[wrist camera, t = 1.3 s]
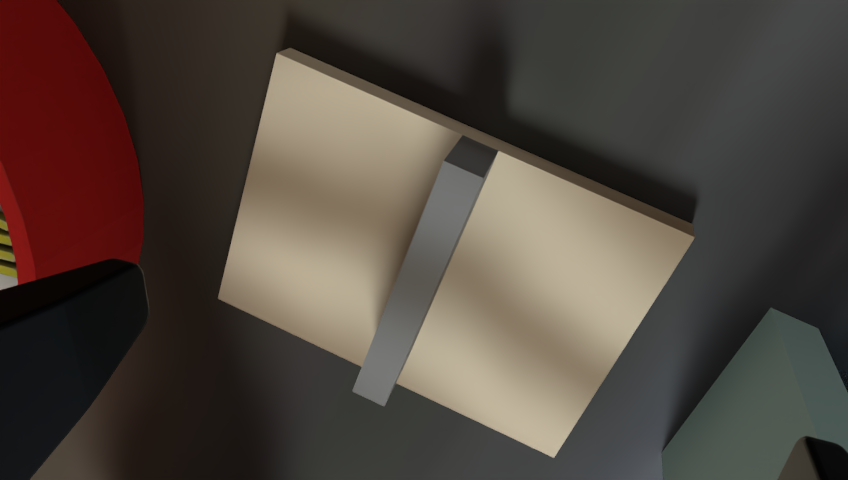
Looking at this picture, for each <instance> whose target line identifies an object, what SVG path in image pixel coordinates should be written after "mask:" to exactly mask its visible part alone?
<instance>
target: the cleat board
mask: <svg viewBox="0 0 848 480" xmlns="http://www.w3.org/2000/svg"><path fill="white" fill-rule="evenodd" d="M694 238H695V235H694V230H693V225H692V224H691V223H689V222H686V221H684V220H682V219H679V218H677V217H675V216H673V215H670V214H668V213H666V212H664V211H661V210H659V209H657V208H654V207H652V206H650V205H648V204H645V203H643V202H641V201H638V200H636V199H634V198H632V197H629V196H627V195H625V194H623V193H620V192H618V191H616V190H613V189H611V188H609V187H607V186H604V185H602V184H600V183H597V182H595V181H593V180H591V179H588V178H586V177H584V176H582V175H579V174H577V173H575V172H572V171H570V170H568V169H566V168H563V167H561V166H559V165H556V164H554V163H552V162H550V161H547V160H545V159H543V158H541V157H538V156H536V155H534V154H531V153H529V152H527V151H525V150H522V149H520V148H518V147H515V146H513V145H511V144H509V143H506V142H504V141H502V140H500V139H497V138H495V137H493V136H490V135H488V134H486V133H484V132H481V131H479V130H477V129H474V128H472V127H470V126H468V125H465V124H463V123H461V122H459V121H456V120H454V119H452V118H449V117H447V116H445V115H443V114H440V113H438V112H436V111H433V110H431V109H429V108H427V107H424V106H422V105H420V104H418V103H415V102H413V101H411V100H408V99H406V98H404V97H402V96H399V95H397V94H395V93H392V92H390V91H388V90H386V89H383V88H381V87H379V86H377V85H374V84H372V83H370V82H367V81H365V80H363V79H361V78H358V77H356V76H354V75H351V74H349V73H347V72H345V71H342V70H340V69H338V68H336V67H333V66H331V65H329V64H326V63H324V62H322V61H320V60H317V59H315V58H313V57H311V56H308V55H306V54H304V53H301V52H299V51H297V50H295V49H292V48H288V49H286V50H283V51H280V52H278V53H276V58H275V62H274V66H273V70H272V74H271V78H270V83H269V87H268V91H267V95H266V99H265V103H264V108H263V112H262V116H261V120H260V124H259V129H258V133H257V137H256V141H255V145H254V149H253V154H252V158H251V162H250V166H249V170H248V175H247V179H246V183H245V187H244V191H243V195H242V200H241V204H240V208H239V212H238V216H237V220H236V225H235V229H234V233H233V237H232V241H231V246H230V250H229V254H228V258H227V262H226V266H225V271H224V275H223V279H222V283H221V287H220V291H219V296H218V299H220V300H222V301H224V302H226V303H228V304H230V305H232V306H235V307H237V308H239V309H241V310H243V311H245V312H247V313H249V314H251V315H254V316H256V317H258V318H260V319H262V320H264V321H266V322H268V323H270V324H273V325H275V326H277V327H279V328H281V329H283V330H285V331H287V332H289V333H292V334H294V335H296V336H298V337H300V338H302V339H304V340H306V341H308V342H311V343H313V344H315V345H317V346H319V347H321V348H323V349H325V350H327V351H330V352H332V353H334V354H336V355H338V356H340V357H342V358H344V359H346V360H349V361H351V362H353V363H355V364H357V365H359V366H361V367H362V368H361V370H360V373H359V376H358V378H357V381H356V383H355V386H354V388H353V392H355V393H357V394H359V395H361V396H363V397H365V398H367V399H369V400H371V401H374V402H376V403H378V404H380V405H382V406H385V404H386V402H387V400H388V398H389V396H390V394H391V392H392V390H393V388H394V386H395V384H396V383H397V384H399V385H401V386H403V387H406V388H408V389H410V390H412V391H414V392H416V393H418V394H420V395H422V396H425V397H427V398H429V399H431V400H433V401H435V402H437V403H439V404H441V405H444V406H446V407H448V408H450V409H452V410H454V411H456V412H458V413H460V414H463V415H465V416H467V417H469V418H471V419H473V420H475V421H477V422H479V423H482V424H484V425H486V426H488V427H490V428H492V429H494V430H496V431H498V432H501V433H503V434H505V435H507V436H509V437H511V438H513V439H515V440H517V441H520V442H522V443H524V444H526V445H528V446H530V447H532V448H534V449H536V450H539V451H541V452H543V453H545V454H547V455H549V456H551V457H553V458H554V457H555V455H556V454H557V452H558V451H559V449H560V448H561V446H562V444H563V443H564V441H565V440H566V438H567V437H568V435H569V433H570V432H571V430H572V429H573V427H574V426H575V424H576V423H577V421H578V419H579V418H580V416H581V415H582V413H583V412H584V410H585V408H586V407H587V405H588V404H589V402H590V401H591V399H592V398H593V396H594V394H595V393H596V391H597V390H598V388H599V387H600V385H601V383H602V382H603V380H604V379H605V377H606V376H607V374H608V373H609V371H610V369H611V368H612V366H613V365H614V363H615V362H616V360H617V358H618V357H619V355H620V354H621V352H622V351H623V349H624V348H625V346H626V344H627V343H628V341H629V340H630V338H631V337H632V335H633V334H634V332H635V330H636V329H637V327H638V326H639V324H640V323H641V321H642V319H643V318H644V316H645V315H646V313H647V312H648V310H649V309H650V307H651V305H652V304H653V302H654V301H655V299H656V298H657V296H658V294H659V293H660V291H661V290H662V288H663V287H664V285H665V284H666V282H667V280H668V279H669V277H670V276H671V274H672V273H673V271H674V269H675V268H676V266H677V265H678V263H679V262H680V260H681V259H682V257H683V255H684V254H685V252H686V251H687V249H688V248H689V246H690V244H691V243H692V241H693V240H694Z"/></svg>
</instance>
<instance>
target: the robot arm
mask: <svg viewBox="0 0 848 480" xmlns="http://www.w3.org/2000/svg"><path fill="white" fill-rule="evenodd" d="M148 317H149V303H148V297H147V291H146V285H145V278H144V273H143V270H142V269H141V267H140V266H139V265H138V264H136V263H133V262H129V261H125V260H121V259H116V258H111V259H107V260H103V261H100V262H96V263H93V264H89V265H86V266H82V267H79V268H75V269H72V270H68V271H65V272H61V273H58V274H54V275H51V276H48V277H44V278H41V279H37V280H34V281H30V282H27V283H23V284H20V285H16V286H13V287H9V288H6V289H2V290H0V480H30V478H31V477H32V476H33V475H34V474H35V472H36V471H37V470H38V469H39V468H40V466H41V465H42V464H43V463H44V462H45V460H46V459H47V458H48V457H49V456H50V454H51V453H52V452H53V451H54V450H55V448H56V447H57V446H58V445H59V444H60V442H61V441H62V440H63V439H64V438H65V436H66V435H67V434H68V433H69V432H70V430H71V429H72V428H73V427H74V426H75V424H76V423H77V422H78V421H79V420H80V418H81V417H82V416H83V415H84V413H85V412H86V411H87V410H88V408H89V407H90V406H91V404H92V403H93V401H94V400H95V399H96V397H97V396H98V394H99V393H100V392H101V390H102V389H103V387H104V386H105V384H106V383H107V381H108V380H109V378H110V377H111V375H112V374H113V372H114V371H115V369H116V368H117V366H118V365H119V363H120V362H121V361H122V359H123V358H124V356H125V355H126V353H127V352H128V350H129V349H130V347H131V346H132V344H133V343H134V341H135V340H136V338H137V337H138V335H139V334H140V333H141V331H142V330H143V328H144V326H145V325H146V323H147V320H148ZM777 480H848V452H847V451H846V450H845V449H844V448H843V447H842V446H840V445H839V444H836V443H833V442H829V441H825V440H822V439H818V438H814V437H810V436H804V437H801V438H800V439H799V440H798V441H797V442H796V443H795V445H794V447H793V449H792V451H791V453H790V455H789V457H788V459H787V461H786V463H785V465H784V467H783V469H782V471H781V473H780V475H779V477H778V479H777Z"/></svg>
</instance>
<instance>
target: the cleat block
mask: <svg viewBox="0 0 848 480" xmlns="http://www.w3.org/2000/svg"><path fill="white" fill-rule="evenodd" d="M804 436H810V437H814V438H818V439H822V440H825V441H829V442H833V443H836V444H839V445H840V446H842V447H843V448H844V449H845V450H846V451H847V452H848V392H847V390H846V388H845V386H844V383H843V381H842V379H841V377H840V375H839V373H838V370H837V368H836V366H835V364H834V362H833V359H832V357H831V355H830V353H829V351H828V348H827V346H826V344H825V342H824V340H823V338H822V335H821V333H820V331H819V329H818V328H816V327H814V326H811V325H809V324H807V323H805V322H802V321H800V320H798V319H796V318H793V317H791V316H789V315H787V314H784V313H782V312H780V311H778V310H775V309H773V308H770V309H769V310H768V312H767V313H766V314H765V316H764V317H763V318H762V320H761V321H760V322H759V324H758V325H757V326H756V328H755V329H754V330H753V332H752V333H751V334H750V336H749V337H748V338H747V340H746V341H745V342H744V344H743V345H742V346H741V348H740V349H739V350H738V352H737V353H736V354H735V356H734V357H733V358H732V360H731V361H730V362H729V364H728V365H727V366H726V368H725V369H724V370H723V372H722V373H721V374H720V376H719V377H718V378H717V380H716V381H715V382H714V384H713V385H712V386H711V388H710V389H709V390H708V392H707V393H706V394H705V396H704V397H703V398H702V400H701V401H700V402H699V404H698V405H697V406H696V408H695V409H694V410H693V412H692V413H691V414H690V416H689V417H688V418H687V420H686V421H685V422H684V424H683V425H682V426H681V428H680V429H679V430H678V432H677V433H676V434H675V436H674V437H673V438H672V440H671V441H670V442H669V443H668V445H667V446H666V447H665V449H664V450H663V451H662V469H663V480H777V479H778V477H779V475H780V473H781V471H782V469H783V467H784V465H785V463H786V461H787V459H788V457H789V455H790V453H791V451H792V449H793V447H794V445H795V443H796V442H797V441H798V440H799V439H800V438H801V437H804Z"/></svg>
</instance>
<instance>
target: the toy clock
mask: <svg viewBox="0 0 848 480" xmlns="http://www.w3.org/2000/svg"><path fill="white" fill-rule="evenodd" d="M143 224H144V200H143V193H142V186H141V179H140V172H139V165H138V159H137V156H136V153H135V149H134V146H133V143H132V139H131V136H130V133H129V129H128V126H127V123H126V119H125V116H124V114H123V111H122V109H121V107H120V105H119V103H118V100H117V98H116V96H115V94H114V92H113V89H112V87H111V85H110V83H109V81H108V78H107V76H106V74H105V72H104V70H103V68H102V66H101V65H100V63H99V61H98V60H97V58H96V56H95V55H94V53H93V52H92V50H91V48H90V47H89V45H88V44H87V42H86V40H85V39H84V37H83V35H82V34H81V32H80V31H79V29H78V27H77V26H76V24H75V23H74V21H73V20H72V19H71V18H70V16H69V15H68V14H67V13H66V11H65V10H64V9H63V8H62V7H61V5H60V4H59V3H58V2H57V0H0V290H2V289H6V288H9V287H13V286H16V285H20V284H23V283H27V282H30V281H34V280H37V279H41V278H44V277H48V276H51V275H54V274H58V273H61V272H65V271H68V270H72V269H75V268H79V267H82V266H86V265H89V264H93V263H96V262H100V261H103V260H107V259H111V258H116V259H121V260H125V261H129V262H133V263H136V264H138V262H139V258H140V253H141V249H142V244H143Z"/></svg>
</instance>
